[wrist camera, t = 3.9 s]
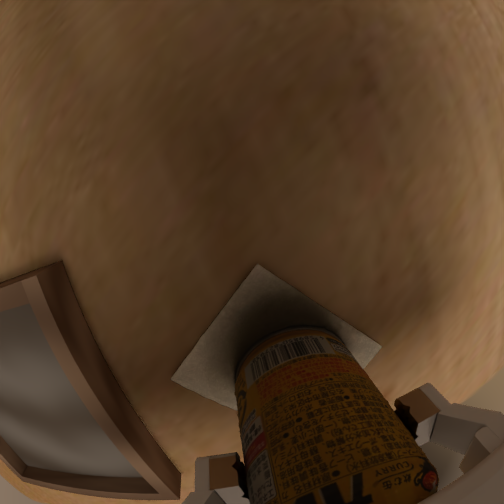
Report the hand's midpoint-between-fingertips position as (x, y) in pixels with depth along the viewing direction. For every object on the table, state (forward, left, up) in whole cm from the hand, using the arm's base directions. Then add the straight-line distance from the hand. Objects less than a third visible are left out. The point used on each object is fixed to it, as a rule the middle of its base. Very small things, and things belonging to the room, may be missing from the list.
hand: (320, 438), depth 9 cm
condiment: (0, 0, -5) cm, 5 cm away
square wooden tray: (0, -17, -5) cm, 18 cm away
